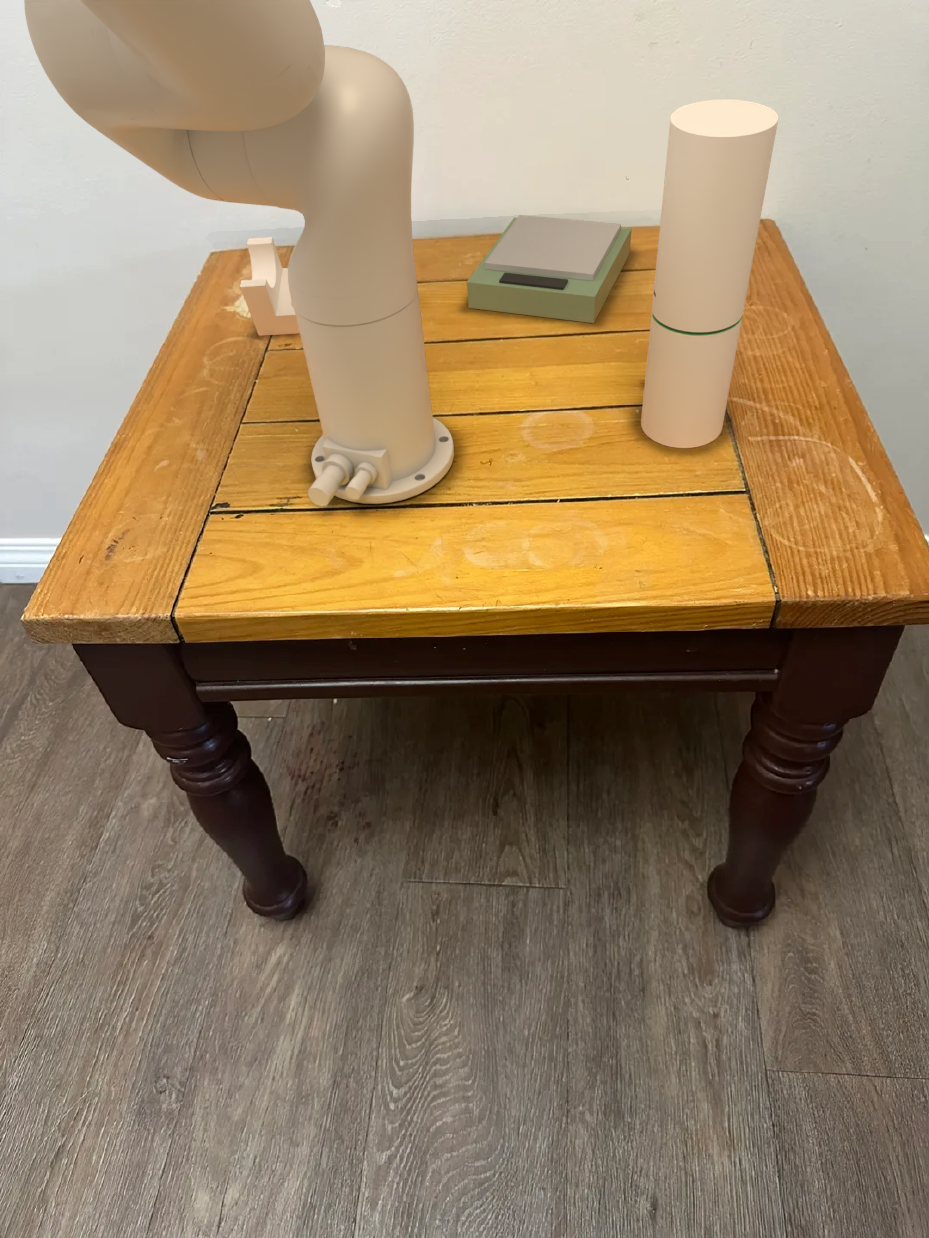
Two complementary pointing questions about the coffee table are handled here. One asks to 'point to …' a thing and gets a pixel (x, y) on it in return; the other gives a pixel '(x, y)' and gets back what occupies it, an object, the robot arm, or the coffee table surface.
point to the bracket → (268, 290)
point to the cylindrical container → (704, 264)
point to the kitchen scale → (551, 268)
